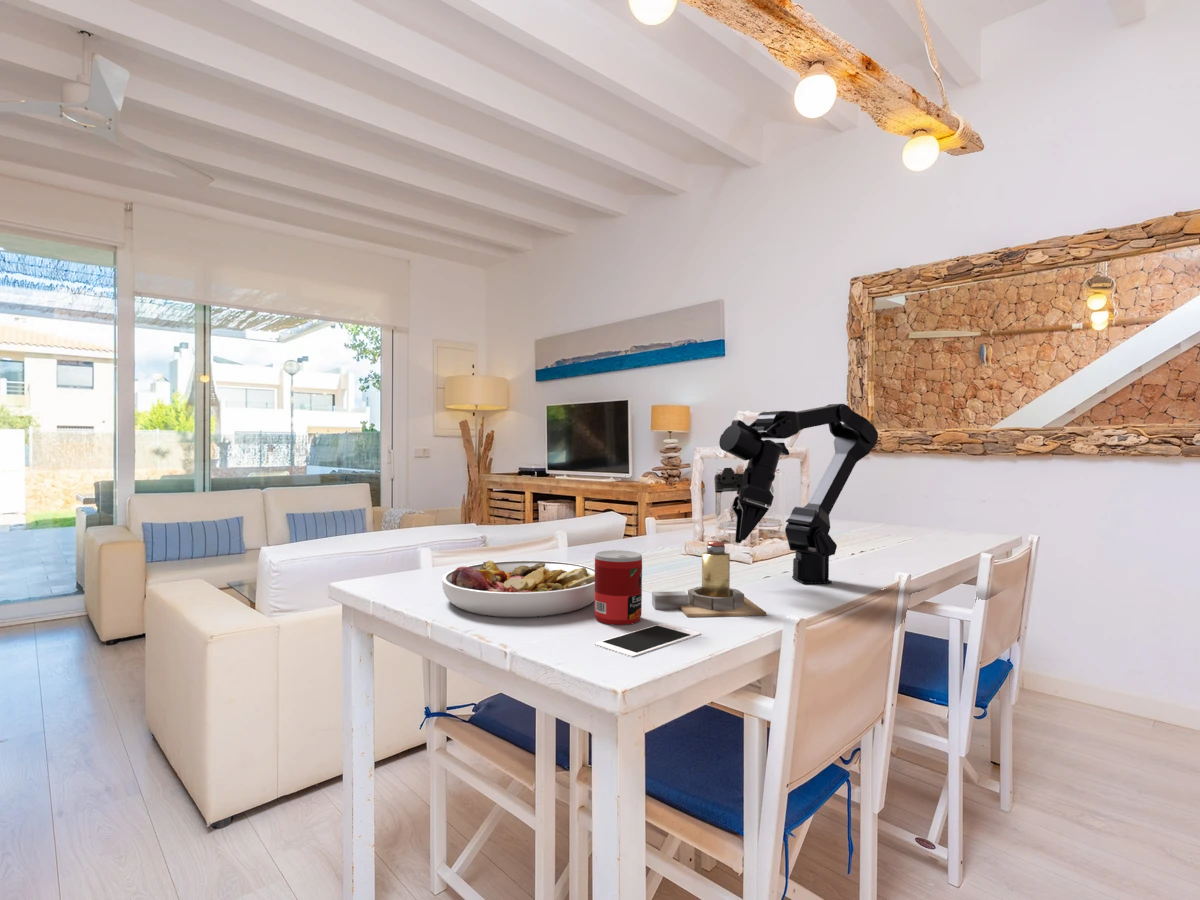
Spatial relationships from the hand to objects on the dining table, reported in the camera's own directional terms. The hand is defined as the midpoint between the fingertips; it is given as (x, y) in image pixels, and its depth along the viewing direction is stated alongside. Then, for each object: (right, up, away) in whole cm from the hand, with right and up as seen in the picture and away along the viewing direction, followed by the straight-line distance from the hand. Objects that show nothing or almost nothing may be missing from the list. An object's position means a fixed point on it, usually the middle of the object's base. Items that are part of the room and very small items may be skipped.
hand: (739, 541), depth 131 cm
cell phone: (-21, -11, -33) cm, 40 cm away
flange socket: (-9, -10, -13) cm, 19 cm away
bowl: (-42, -10, -8) cm, 44 cm away
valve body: (-7, -10, -12) cm, 17 cm away
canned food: (-25, -10, -22) cm, 35 cm away
